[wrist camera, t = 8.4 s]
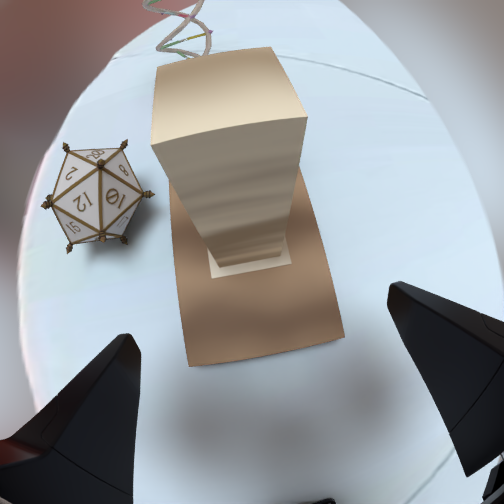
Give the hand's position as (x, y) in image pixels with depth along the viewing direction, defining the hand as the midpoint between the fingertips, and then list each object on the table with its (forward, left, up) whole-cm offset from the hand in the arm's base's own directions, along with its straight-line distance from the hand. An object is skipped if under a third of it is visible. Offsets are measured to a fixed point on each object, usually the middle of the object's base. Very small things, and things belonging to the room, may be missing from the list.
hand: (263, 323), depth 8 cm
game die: (+12, +9, -10) cm, 19 cm away
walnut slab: (+6, -1, -10) cm, 12 cm away
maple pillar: (+6, -1, -8) cm, 10 cm away
